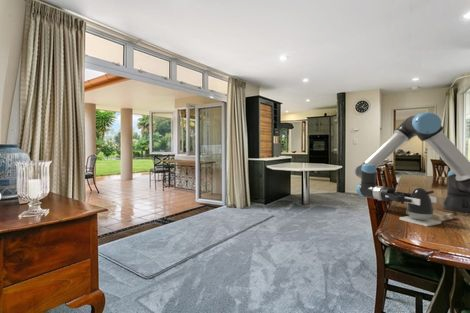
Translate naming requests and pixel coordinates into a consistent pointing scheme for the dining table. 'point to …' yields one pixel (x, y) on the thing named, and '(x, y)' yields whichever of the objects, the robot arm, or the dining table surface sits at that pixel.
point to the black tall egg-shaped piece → (421, 205)
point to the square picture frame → (440, 215)
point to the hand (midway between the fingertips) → (428, 201)
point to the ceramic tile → (420, 221)
